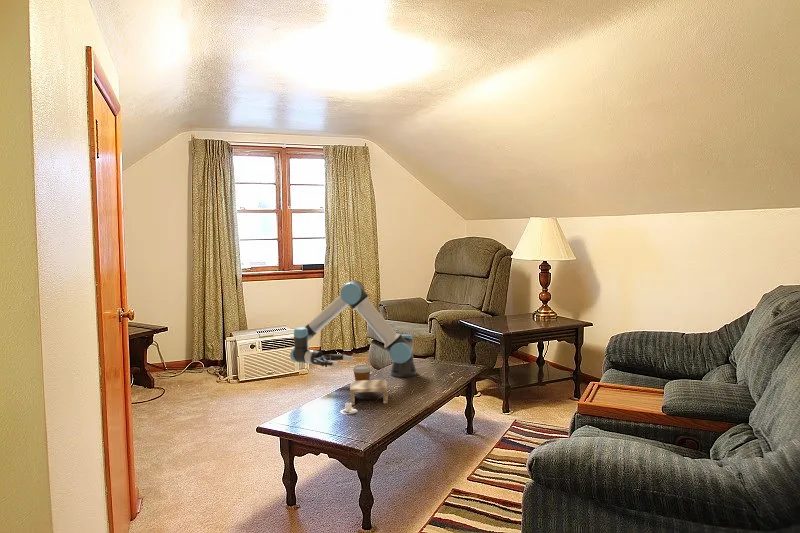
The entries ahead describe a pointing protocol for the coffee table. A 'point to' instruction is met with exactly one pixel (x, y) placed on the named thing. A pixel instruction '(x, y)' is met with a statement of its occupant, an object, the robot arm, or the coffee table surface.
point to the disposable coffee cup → (362, 372)
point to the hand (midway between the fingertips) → (345, 361)
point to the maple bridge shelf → (368, 388)
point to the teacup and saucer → (348, 409)
